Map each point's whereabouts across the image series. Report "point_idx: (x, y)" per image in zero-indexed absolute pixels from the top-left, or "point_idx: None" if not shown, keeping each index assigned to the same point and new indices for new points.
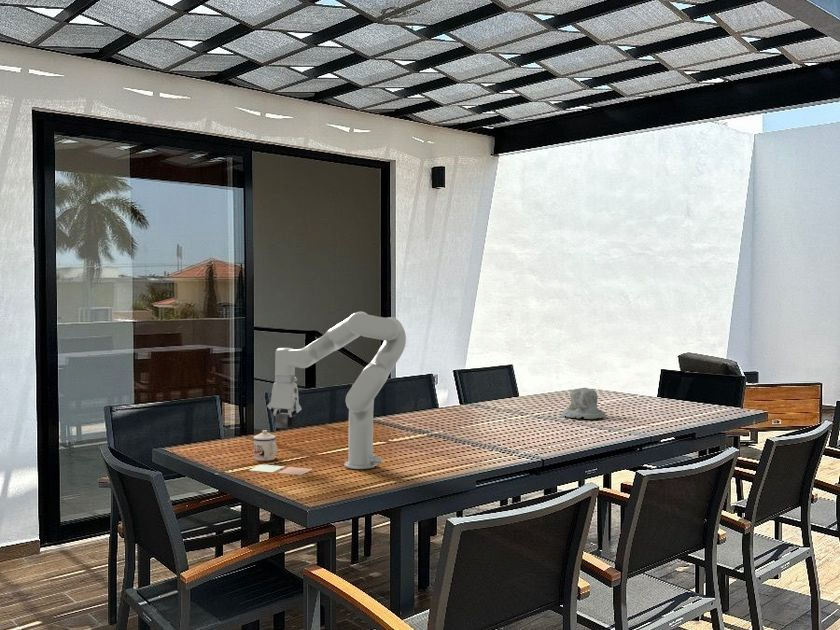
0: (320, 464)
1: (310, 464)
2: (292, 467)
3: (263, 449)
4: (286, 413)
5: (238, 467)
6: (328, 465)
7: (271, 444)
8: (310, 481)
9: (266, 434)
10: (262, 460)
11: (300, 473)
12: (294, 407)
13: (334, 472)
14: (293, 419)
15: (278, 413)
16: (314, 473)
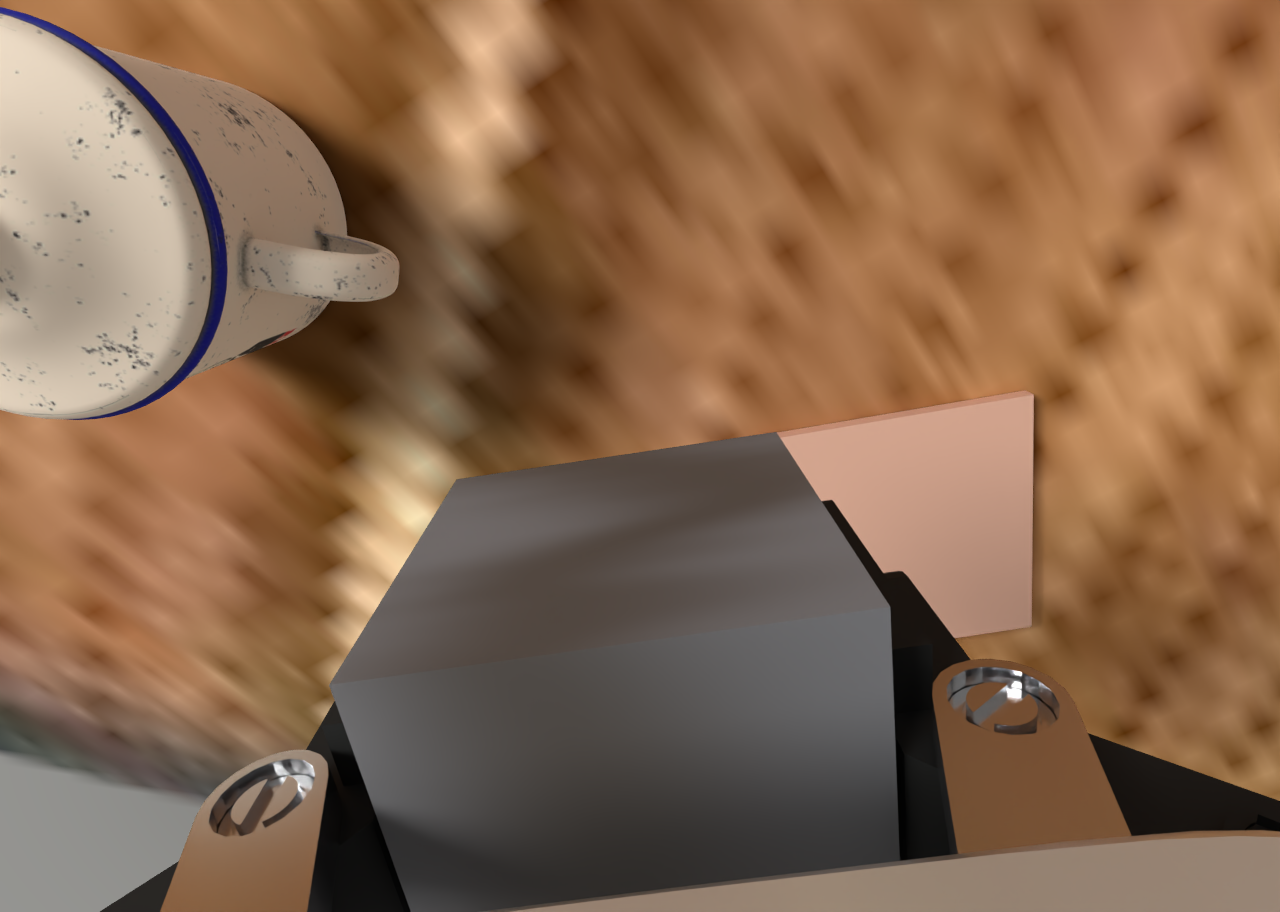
0: (969, 96)
1: (859, 163)
2: (803, 447)
3: (240, 352)
4: (606, 704)
5: (319, 628)
6: (1085, 89)
7: (277, 288)
8: (1170, 694)
9: (45, 281)
10: (297, 331)
11: (1000, 590)
12: (1179, 875)
13: (1271, 342)
14: (954, 657)
15: (364, 864)
16: (1088, 473)
